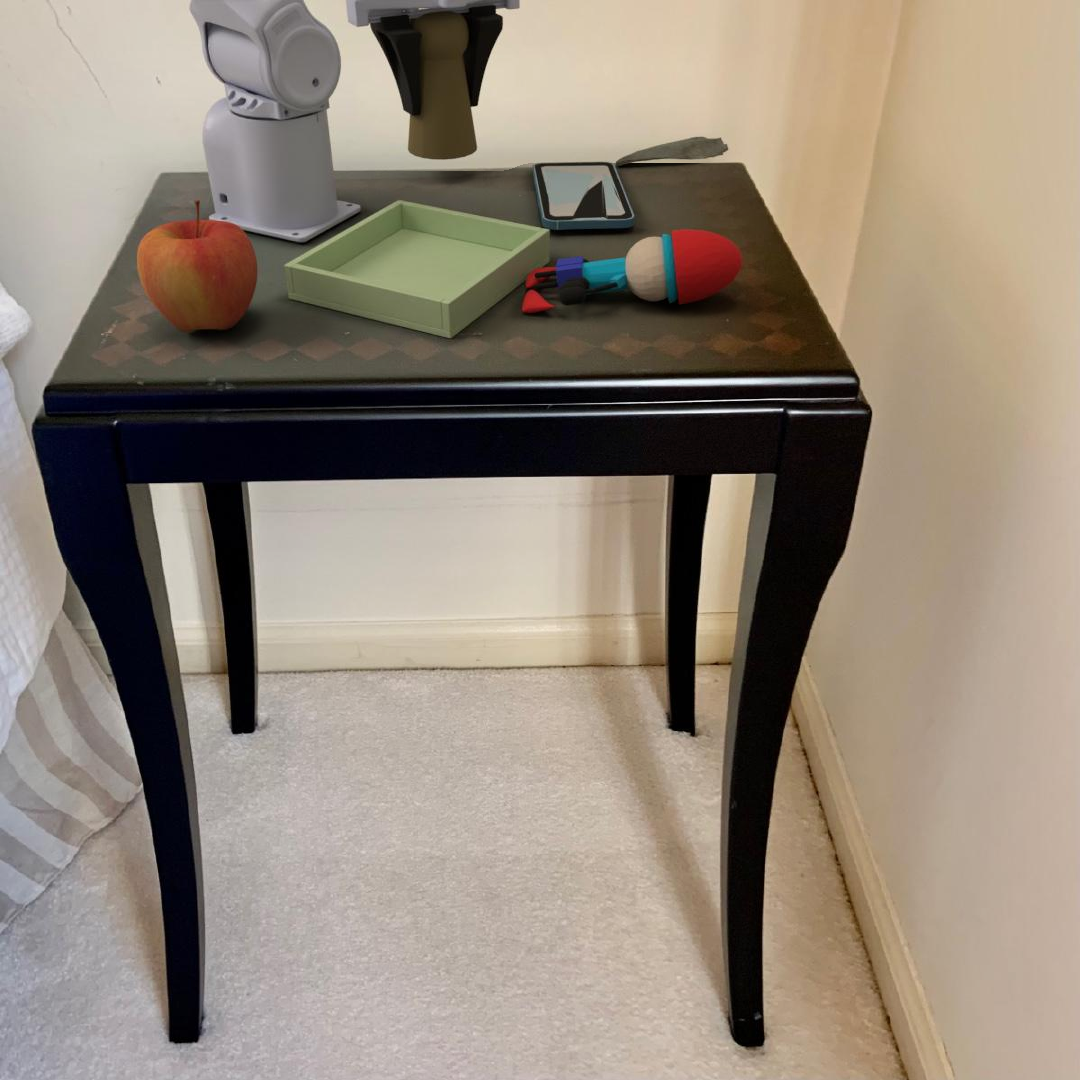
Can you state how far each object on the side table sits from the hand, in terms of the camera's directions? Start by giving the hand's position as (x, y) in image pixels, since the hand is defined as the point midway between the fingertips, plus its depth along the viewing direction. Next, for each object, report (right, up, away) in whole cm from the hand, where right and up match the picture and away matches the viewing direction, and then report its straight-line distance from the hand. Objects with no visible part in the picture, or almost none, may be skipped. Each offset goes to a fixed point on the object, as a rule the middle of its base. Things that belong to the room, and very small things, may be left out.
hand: (440, 108), depth 93 cm
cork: (0, -3, +2) cm, 4 cm away
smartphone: (+12, -9, -2) cm, 15 cm away
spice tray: (0, -18, -15) cm, 23 cm away
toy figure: (+15, -20, -17) cm, 30 cm away
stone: (+21, -3, +5) cm, 22 cm away
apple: (-13, -23, -20) cm, 34 cm away
